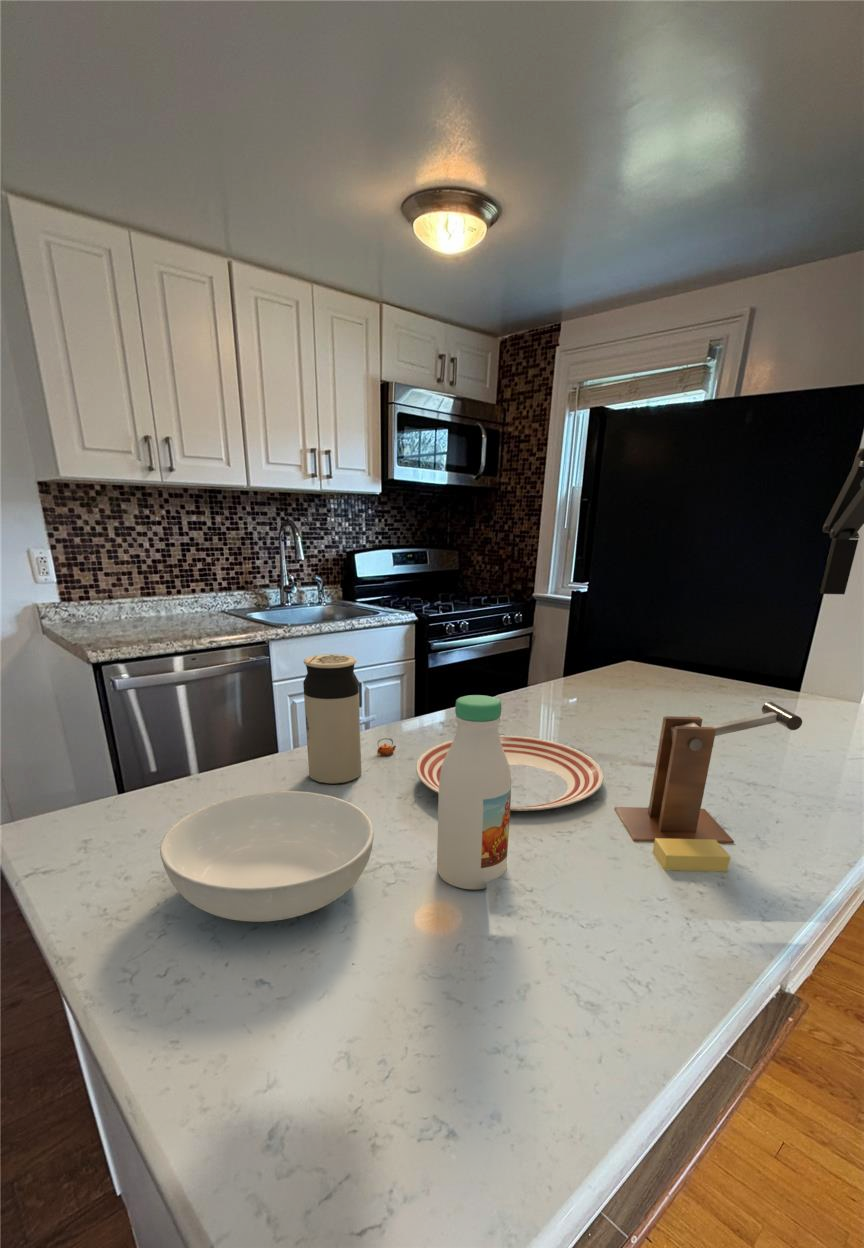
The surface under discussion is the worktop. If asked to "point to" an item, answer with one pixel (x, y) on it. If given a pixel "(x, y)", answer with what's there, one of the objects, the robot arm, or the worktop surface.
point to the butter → (691, 854)
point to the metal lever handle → (756, 720)
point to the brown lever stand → (677, 788)
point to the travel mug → (332, 718)
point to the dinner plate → (533, 752)
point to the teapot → (385, 749)
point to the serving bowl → (268, 854)
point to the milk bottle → (474, 798)
